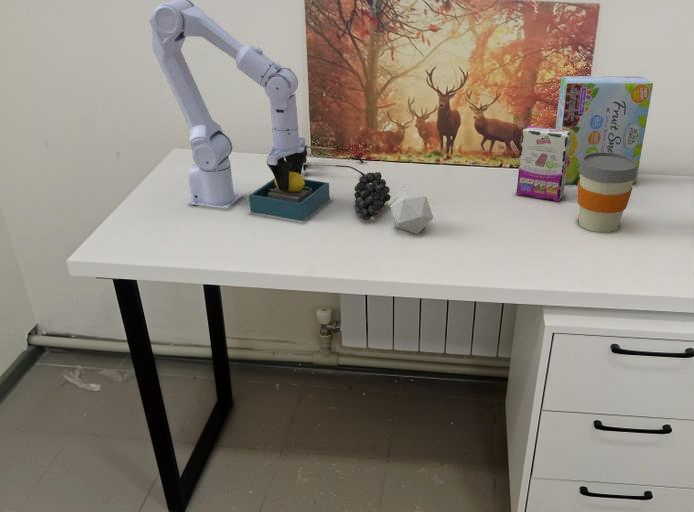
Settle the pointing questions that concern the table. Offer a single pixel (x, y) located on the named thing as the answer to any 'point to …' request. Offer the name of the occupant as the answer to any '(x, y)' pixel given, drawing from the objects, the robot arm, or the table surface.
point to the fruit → (370, 195)
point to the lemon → (294, 182)
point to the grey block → (290, 194)
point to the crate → (289, 208)
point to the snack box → (603, 117)
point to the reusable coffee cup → (604, 189)
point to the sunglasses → (330, 165)
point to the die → (411, 212)
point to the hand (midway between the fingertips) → (289, 185)
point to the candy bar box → (543, 162)
